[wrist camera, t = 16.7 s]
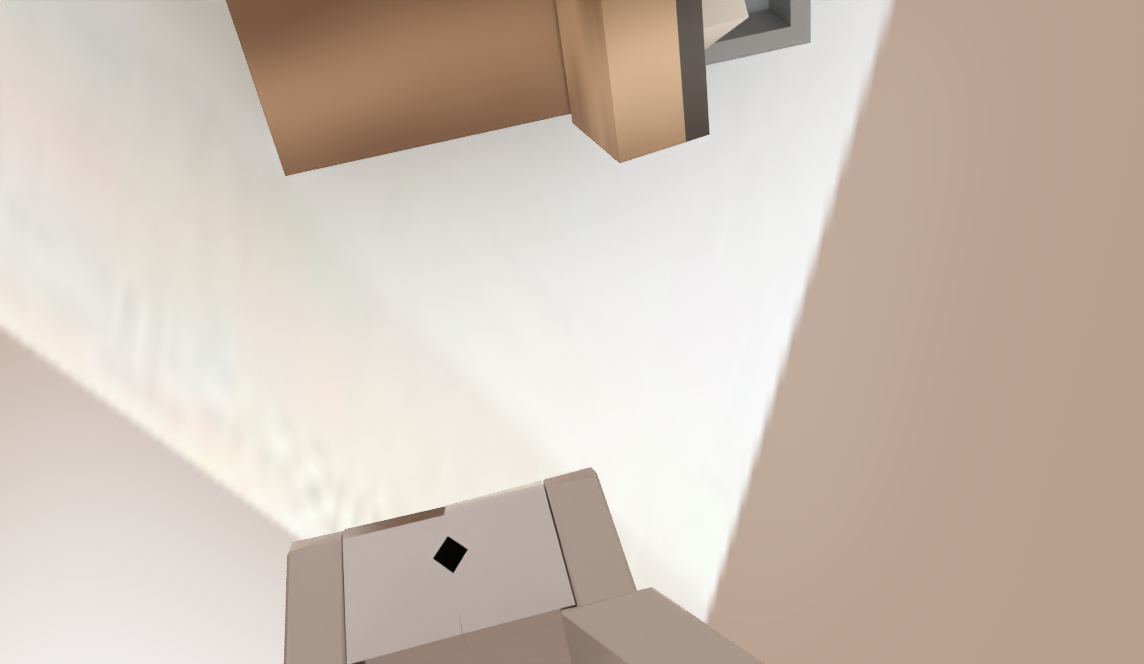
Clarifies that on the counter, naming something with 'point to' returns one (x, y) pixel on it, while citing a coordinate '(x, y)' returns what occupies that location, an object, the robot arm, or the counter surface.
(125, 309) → the counter surface
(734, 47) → the tray
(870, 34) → the counter surface
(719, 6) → the tile
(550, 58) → the board
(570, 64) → the tan wooden bar
